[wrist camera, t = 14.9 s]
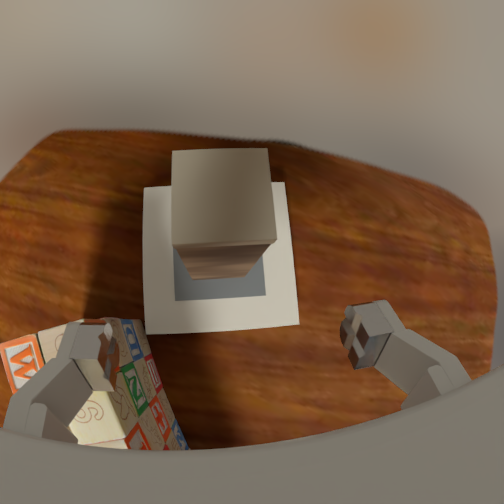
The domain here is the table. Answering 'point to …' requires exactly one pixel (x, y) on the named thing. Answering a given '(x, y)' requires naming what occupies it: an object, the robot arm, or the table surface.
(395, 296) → the table surface
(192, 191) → the brown tall block
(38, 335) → the stack of blocks
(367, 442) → the robot arm
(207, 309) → the plate
